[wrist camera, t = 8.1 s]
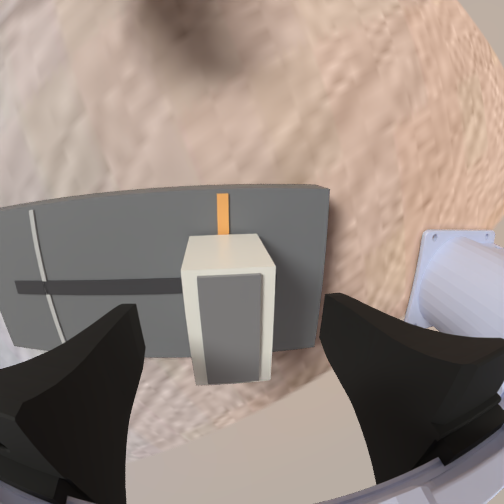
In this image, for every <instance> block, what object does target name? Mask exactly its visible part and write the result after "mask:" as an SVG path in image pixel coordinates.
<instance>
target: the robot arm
mask: <svg viewBox="0 0 504 504" xmlns="http://www.w3.org/2000/svg"><path fill="white" fill-rule="evenodd" d="M433 236H434V238H433ZM432 238H433V239H432ZM494 238H495V233H494V231H492V230H446V229H428V230H426V231H424V233H423V235H422V240H421V246H420V252H419V258H418V263H417V268H416V273H415V278H414V282H413V287H412V291H411V295H410V299H409V303H408V307H407V311H406V315H405V319H404V321H402V320H399V319H397V318H395V317H392V316H390V315H388V314H385V313H383V312H381V311H379V310H377V309H375V308H372V307H370V306H368V305H366V304H364V303H362V302H360V301H358V300H356V299H354V298H352V297H349V296H347V295H345V294H342V293H331V294H325V300H324V308H323V315H322V322H321V329H320V336H319V338H320V340H321V343H322V346H323V349H324V352H325V354H326V357H327V359H328V361H329V363H330V364H331V366H332V368H333V370H334V372H335V373H336V375H337V377H338V379H339V381H340V383H341V384H342V386H343V388H344V389H345V392H346V393H347V395H348V397H349V399H350V401H351V403H352V405H353V408H354V410H355V413H356V416H357V418H358V421H359V423H360V426H361V429H362V432H363V435H364V438H365V441H366V444H367V447H368V451H369V455H370V458H371V462H372V466H373V470H374V475H375V479H376V485H375V486H373V487H370V488H367V489H364V490H361V491H358V492H355V493H352V494H349V495H346V496H342V497H338V498H335V499H331V500H328V501H323V502H319V503H315V504H486V503H488V501H490V500H491V499H492V498H493V497H494V496H495V495H496V494H498V493H499V492H500V491H501V490H502V489H503V488H504V248H503V247H501V246H499V245H497V244H495V243H494ZM432 326H434V327H435V328H436V329H437V330H438V331H439V332H438V331H433V330H429V329H426V328H428V327H432ZM145 349H146V346H145V342H144V338H143V334H142V329H141V325H140V320H139V315H138V310H137V305H136V304H120V305H118V306H116V307H115V308H113V309H112V310H111V311H109V312H108V313H106V314H105V315H104V316H102V317H101V318H100V319H98V320H97V321H96V322H94V323H93V324H91V325H90V326H89V327H87V328H86V329H84V330H83V331H81V332H80V333H78V334H77V335H75V336H74V337H72V338H71V339H69V340H68V341H66V342H64V343H63V344H61V345H59V346H57V347H56V348H54V349H52V350H50V351H48V352H46V353H44V354H41V355H39V356H37V357H34V358H32V359H30V360H27V361H25V362H22V363H19V364H16V365H13V366H10V367H7V368H3V369H0V504H126V489H125V461H126V444H127V434H128V425H129V419H130V414H131V410H132V406H133V402H134V399H135V395H136V391H137V388H138V384H139V381H140V377H141V373H142V370H143V364H144V357H145Z"/></svg>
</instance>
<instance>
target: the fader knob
mask: <svg viewBox="0 0 504 504" xmlns="http://www.w3.org/2000/svg"><path fill="white" fill-rule="evenodd" d="M275 274H276V266H275V264H274V262H273V261H272V259H271V257H270V255H269V254H268V252H267V250H266V249H265V247H264V245H263V243H262V242H261V240H260V238H259V237H258V235H257V234H229V235H204V236H189V240H188V244H187V248H186V251H185V255H184V259H183V263H182V267H181V279H182V289H183V298H184V306H185V315H186V322H187V330H188V337H189V344H190V351H191V358H192V364H193V370H194V376H195V382H196V385H220V384H236V383H249V382H259V381H269V380H271V362H272V343H273V323H274V300H275Z"/></svg>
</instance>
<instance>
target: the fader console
mask: <svg viewBox="0 0 504 504" xmlns="http://www.w3.org/2000/svg"><path fill="white" fill-rule="evenodd" d="M329 194H330V189H328V188H324V187H321V186H318V185H307V184H232V185H201V186H180V187H164V188H149V189H137V190H125V191H115V192H105V193H96V194H87V195H79V196H71V197H63V198H56V199H49V200H43V201H36V202H30V203H24V204H19V205H13V206H8V207H2V208H0V311H1V314H2V316H3V319H4V322H5V324H6V327H7V329H8V332H9V334H10V337H11V339H12V341H13V344H14V346H18V347H24V348H31V349H38V350H46V351H50V350H52V349H54V348H56V347H57V346H59V345H61V344H63V343H64V342H66V341H68V340H69V339H71V338H72V337H74V336H75V335H77V334H78V333H80V332H81V331H83V330H84V329H86V328H87V327H89V326H90V325H91V324H93V323H94V322H96V321H97V320H98V319H100V318H101V317H102V316H104V315H105V314H106V313H108V312H109V311H111V310H112V309H113V308H115V307H116V306H118V305H120V304H136V305H137V310H138V315H139V320H140V325H141V329H142V334H143V338H144V342H145V346H146V349H145V357H160V358H165V357H191V351H190V344H189V337H188V330H187V322H186V315H185V306H184V298H183V289H182V279H181V267H182V263H183V259H184V255H185V251H186V248H187V244H188V240H189V236H204V235H229V234H257V235H258V237H259V238H260V240H261V242H262V243H263V245H264V247H265V249H266V250H267V252H268V254H269V255H270V257H271V259H272V261H273V262H274V264H275V266H276V274H275V300H274V323H273V343H272V352H276V351H286V350H294V349H302V348H310V347H314V345H315V339H316V332H317V325H318V317H319V309H320V301H321V292H322V283H323V274H324V264H325V253H326V241H327V227H328V212H329Z"/></svg>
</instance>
